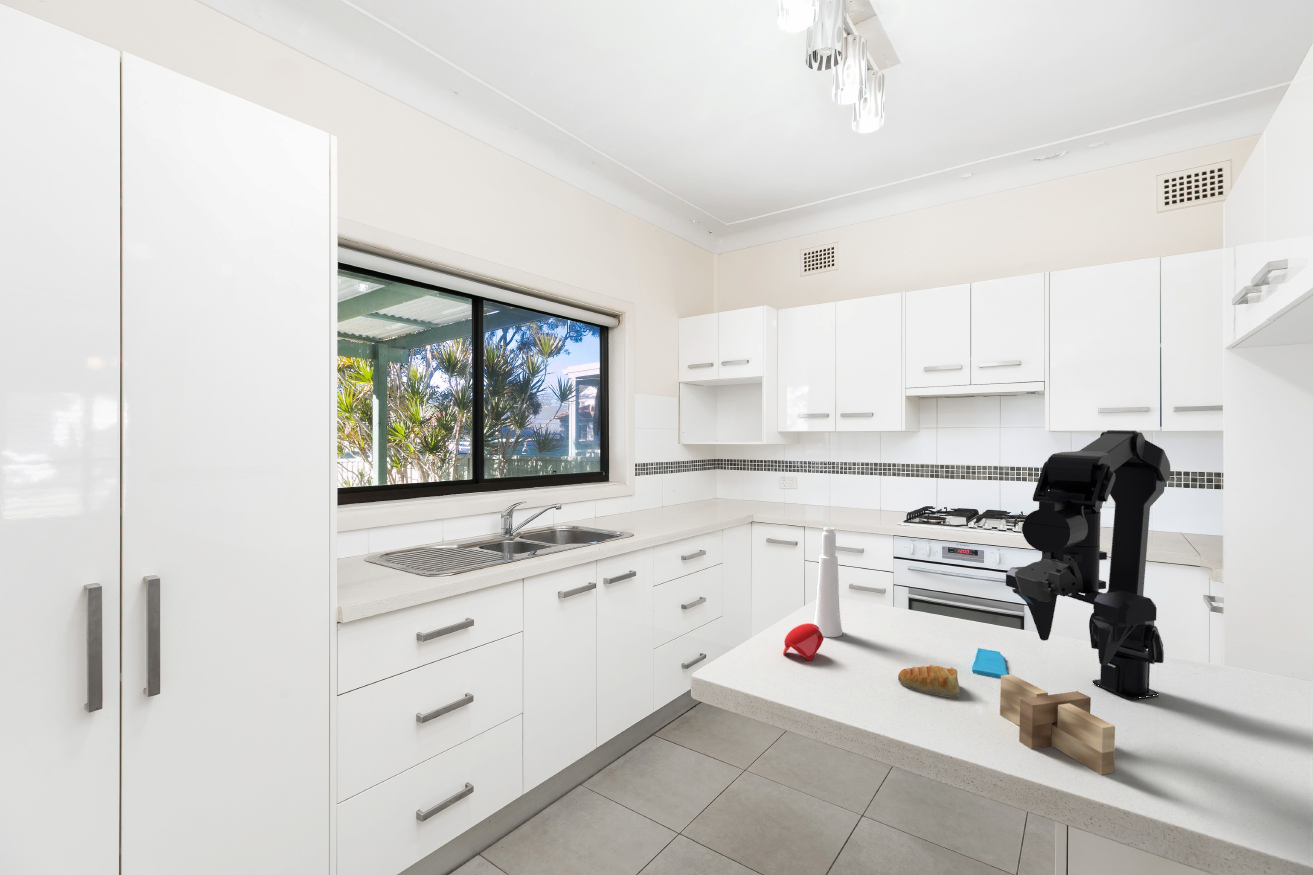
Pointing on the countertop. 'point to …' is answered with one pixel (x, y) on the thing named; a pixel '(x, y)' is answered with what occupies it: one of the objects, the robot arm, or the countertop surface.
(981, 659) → the sponge
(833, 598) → the cosmetic bottle
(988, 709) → the countertop surface
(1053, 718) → the walnut slot plate
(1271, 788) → the countertop surface
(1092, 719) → the oak slot board
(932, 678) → the pastry
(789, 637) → the red rounded piece
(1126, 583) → the robot arm
